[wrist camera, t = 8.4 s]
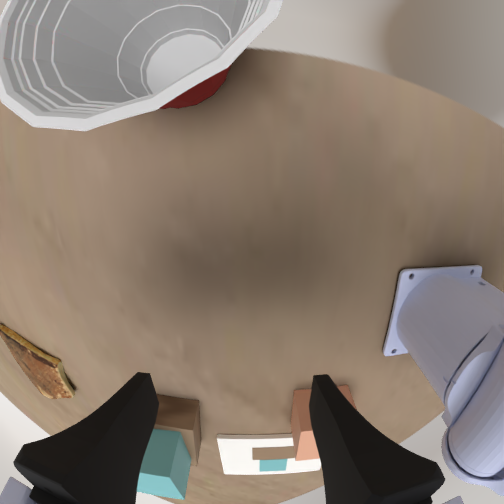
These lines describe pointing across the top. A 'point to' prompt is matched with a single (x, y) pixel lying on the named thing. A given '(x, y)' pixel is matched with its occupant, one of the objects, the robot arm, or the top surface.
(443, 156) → the top surface
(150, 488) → the teal block
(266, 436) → the card
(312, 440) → the terracotta block
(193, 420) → the walnut block
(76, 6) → the plastic cup
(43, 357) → the shard
